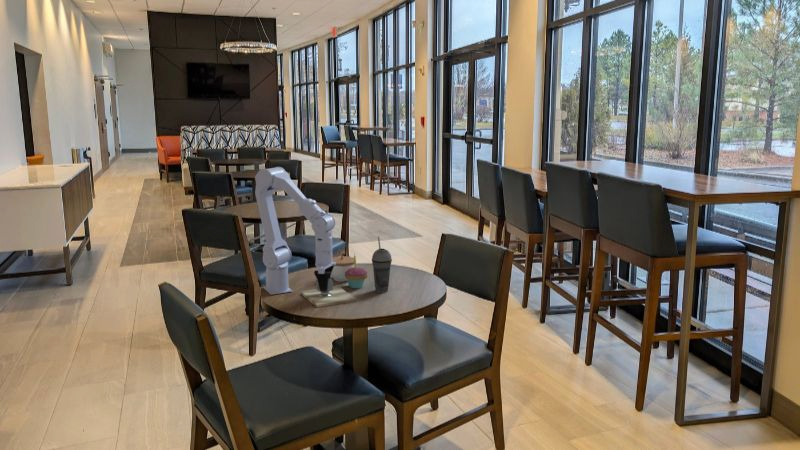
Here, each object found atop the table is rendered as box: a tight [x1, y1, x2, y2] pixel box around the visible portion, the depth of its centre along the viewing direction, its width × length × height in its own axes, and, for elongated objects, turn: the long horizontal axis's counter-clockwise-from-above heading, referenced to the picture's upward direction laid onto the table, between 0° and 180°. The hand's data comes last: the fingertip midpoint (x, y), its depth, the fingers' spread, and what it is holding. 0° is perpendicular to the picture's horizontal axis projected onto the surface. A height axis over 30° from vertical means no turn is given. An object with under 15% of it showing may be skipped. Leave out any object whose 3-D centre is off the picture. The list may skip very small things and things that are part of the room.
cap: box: [316, 277, 334, 292], centre depth 203 cm, size 5×6×4 cm
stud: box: [319, 292, 331, 297], centre depth 204 cm, size 4×4×2 cm
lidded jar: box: [331, 254, 354, 282], centre depth 225 cm, size 11×11×9 cm
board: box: [300, 285, 357, 308], centre depth 204 cm, size 16×14×1 cm
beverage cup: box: [371, 236, 393, 294], centre depth 210 cm, size 7×7×20 cm
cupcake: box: [345, 253, 368, 289], centre depth 216 cm, size 9×8×12 cm
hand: (324, 288), depth 203 cm, fingers open, 5 cm apart
